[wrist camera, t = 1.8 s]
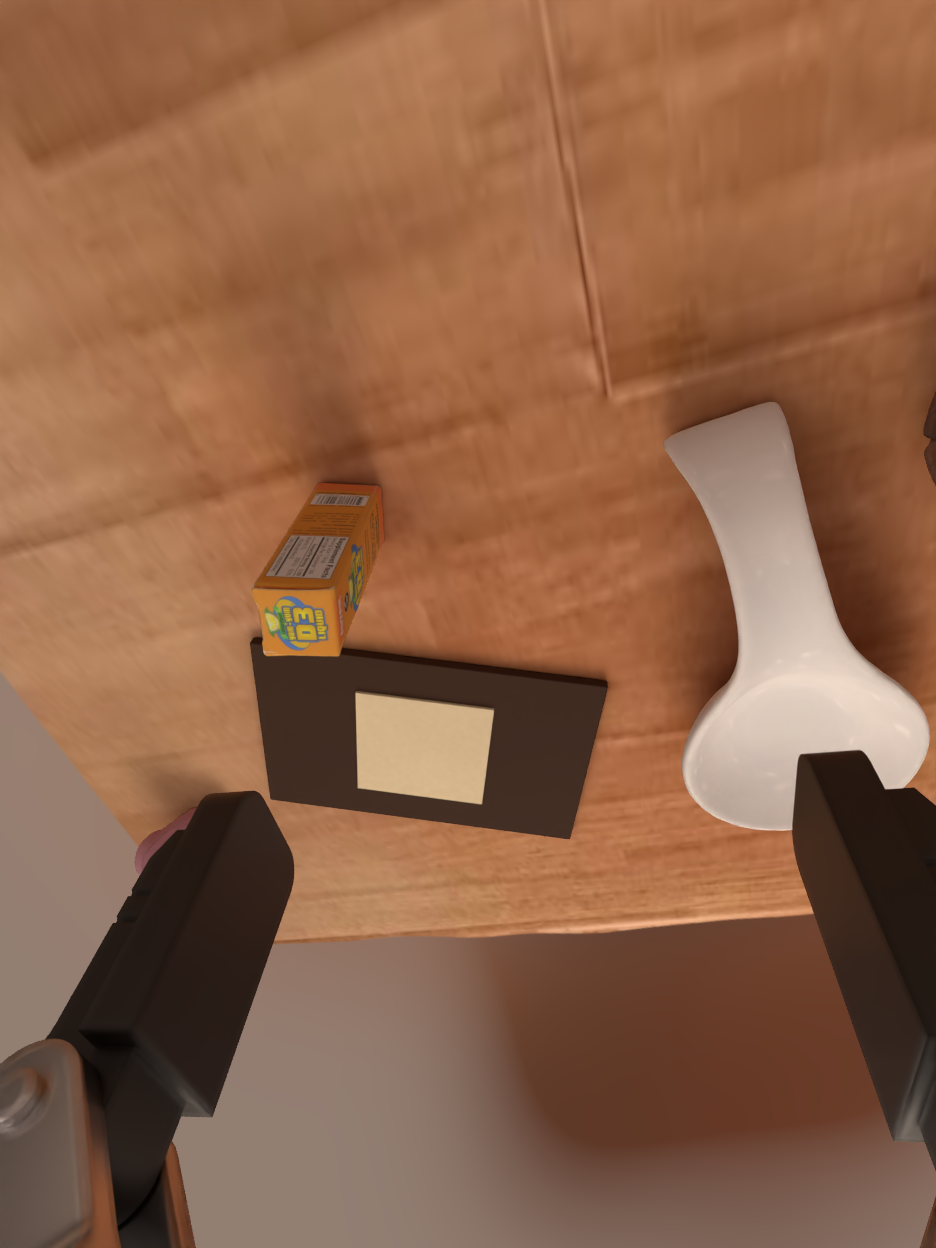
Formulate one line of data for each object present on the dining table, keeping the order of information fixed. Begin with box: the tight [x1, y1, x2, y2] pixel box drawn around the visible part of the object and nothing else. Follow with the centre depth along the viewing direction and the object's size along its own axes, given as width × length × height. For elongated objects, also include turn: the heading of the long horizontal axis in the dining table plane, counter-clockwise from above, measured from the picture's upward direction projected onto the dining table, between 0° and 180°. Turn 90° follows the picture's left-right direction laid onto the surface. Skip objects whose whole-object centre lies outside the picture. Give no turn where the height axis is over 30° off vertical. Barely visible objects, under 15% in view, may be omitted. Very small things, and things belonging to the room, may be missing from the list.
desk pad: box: [250, 638, 608, 839], centre depth 42 cm, size 20×13×1 cm, turn 86°
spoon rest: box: [664, 402, 930, 831], centre depth 32 cm, size 24×12×7 cm, turn 24°
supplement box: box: [251, 483, 384, 656], centre depth 30 cm, size 3×3×10 cm
